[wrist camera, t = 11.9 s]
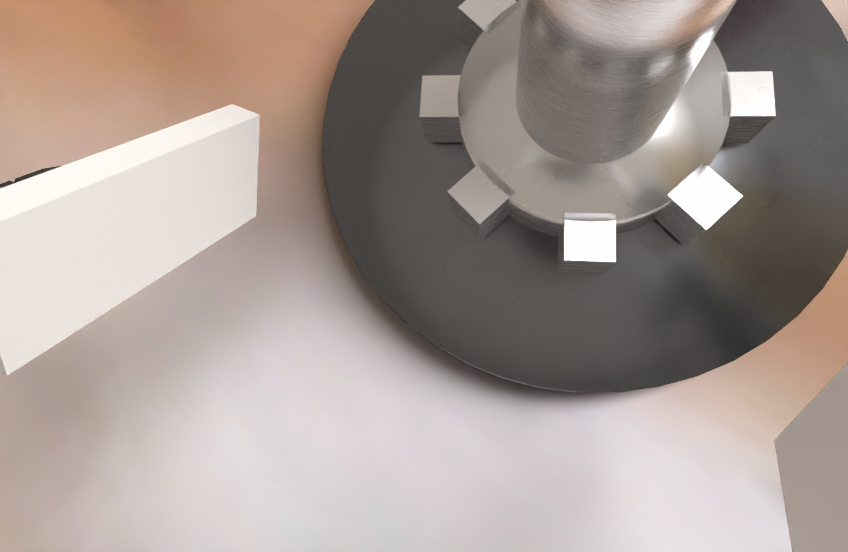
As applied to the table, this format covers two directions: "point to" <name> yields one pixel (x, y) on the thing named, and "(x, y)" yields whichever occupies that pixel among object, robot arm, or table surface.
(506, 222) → the carrier plate
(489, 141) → the sun gear
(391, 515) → the table surface
